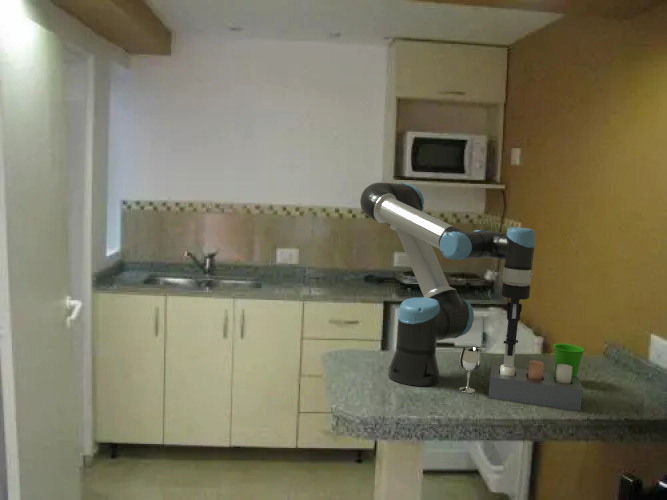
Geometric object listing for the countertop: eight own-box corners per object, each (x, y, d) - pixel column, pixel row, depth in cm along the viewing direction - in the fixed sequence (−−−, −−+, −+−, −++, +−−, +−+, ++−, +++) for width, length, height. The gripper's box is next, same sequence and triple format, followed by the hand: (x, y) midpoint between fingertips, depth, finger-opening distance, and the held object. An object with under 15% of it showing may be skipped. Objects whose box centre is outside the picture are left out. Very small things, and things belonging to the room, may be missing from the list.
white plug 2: (554, 391, 179) (557, 367, 178) (554, 387, 183) (556, 363, 182) (570, 393, 178) (573, 369, 177) (568, 389, 182) (571, 365, 181)
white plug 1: (498, 391, 183) (500, 367, 182) (498, 387, 187) (500, 363, 186) (512, 393, 182) (515, 369, 181) (512, 389, 186) (515, 365, 185)
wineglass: (465, 394, 181) (469, 352, 180) (452, 387, 186) (456, 347, 185) (481, 392, 184) (485, 351, 182) (468, 385, 189) (472, 345, 187)
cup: (582, 389, 193) (587, 353, 191) (551, 385, 195) (555, 349, 193) (577, 379, 202) (581, 345, 200) (547, 376, 203) (551, 342, 202)
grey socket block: (488, 397, 180) (490, 376, 179) (489, 384, 191) (491, 364, 190) (580, 411, 174) (582, 389, 173) (575, 397, 185) (578, 376, 184)
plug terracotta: (526, 387, 181) (529, 363, 180) (526, 383, 184) (528, 359, 184) (541, 389, 180) (544, 365, 179) (541, 385, 183) (543, 361, 183)
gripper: (531, 288, 173) (522, 374, 176) (529, 281, 186) (521, 361, 188) (502, 285, 175) (494, 370, 178) (502, 278, 188) (495, 357, 190)
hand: (508, 365), depth 183 cm, fingers closed
